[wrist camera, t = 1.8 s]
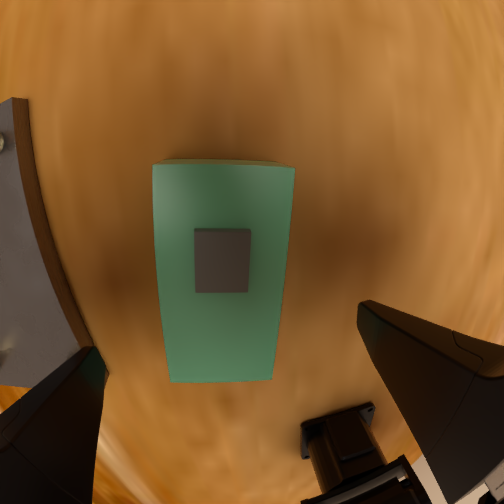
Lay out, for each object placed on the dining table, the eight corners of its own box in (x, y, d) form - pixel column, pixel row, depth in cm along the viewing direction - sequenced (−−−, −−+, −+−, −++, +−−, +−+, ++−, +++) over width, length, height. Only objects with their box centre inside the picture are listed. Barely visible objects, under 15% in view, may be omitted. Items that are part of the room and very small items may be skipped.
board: (260, 338, 17) (273, 384, 13) (175, 339, 16) (170, 387, 13) (274, 161, 13) (298, 169, 10) (166, 158, 13) (150, 165, 9)
